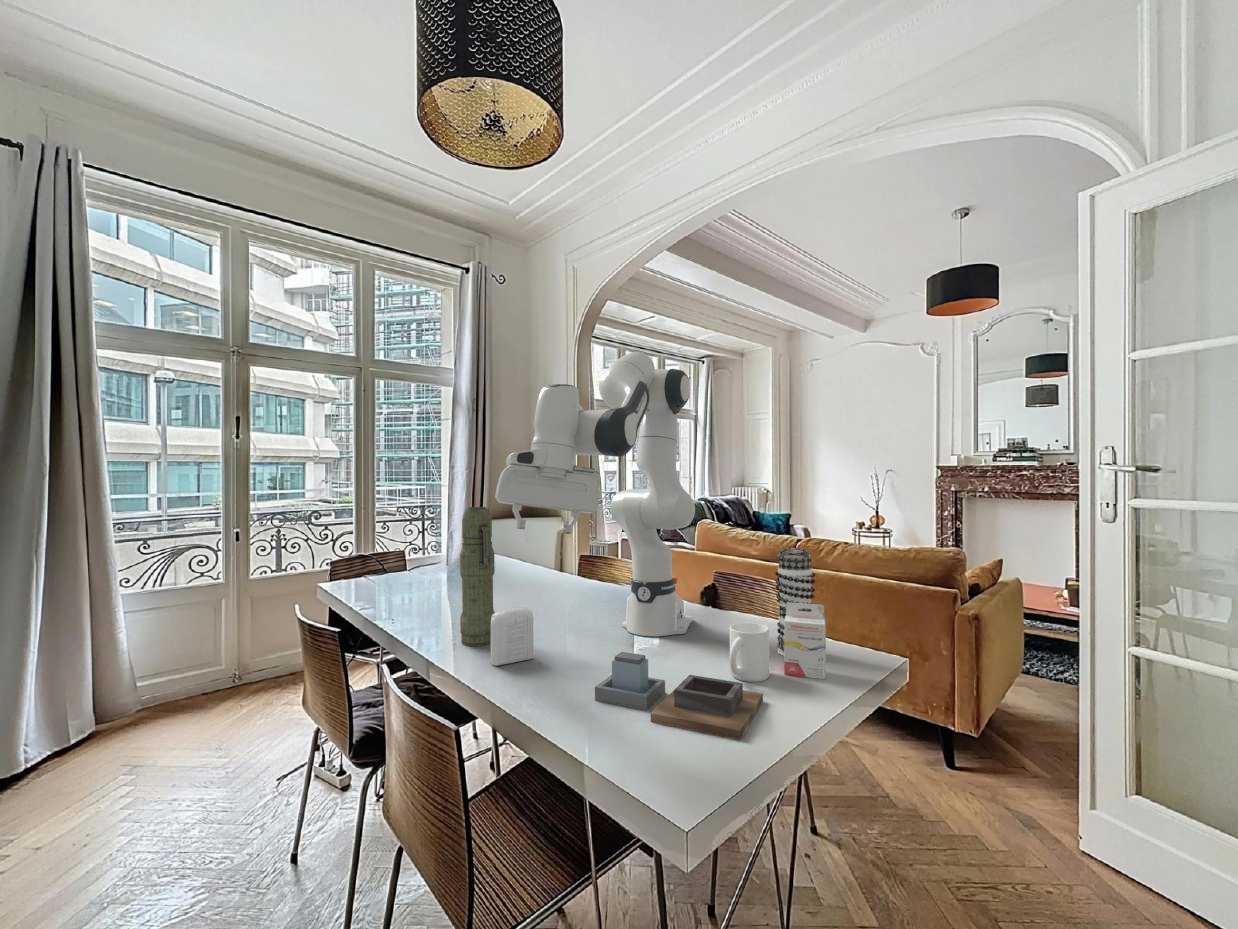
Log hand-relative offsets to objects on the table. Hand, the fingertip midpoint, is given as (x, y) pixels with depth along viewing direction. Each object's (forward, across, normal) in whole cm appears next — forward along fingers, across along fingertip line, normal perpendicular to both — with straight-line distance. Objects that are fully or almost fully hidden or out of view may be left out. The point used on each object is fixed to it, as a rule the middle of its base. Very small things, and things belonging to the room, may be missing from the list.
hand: (544, 531), depth 111 cm
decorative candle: (+22, -66, -9) cm, 70 cm away
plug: (+30, -21, +1) cm, 37 cm away
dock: (+30, -32, +12) cm, 45 cm away
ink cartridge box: (+25, -60, +3) cm, 65 cm away
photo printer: (+30, -2, -29) cm, 41 cm away
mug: (+27, -46, 0) cm, 54 cm away
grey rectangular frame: (+30, -21, +1) cm, 37 cm away
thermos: (+28, +4, -48) cm, 56 cm away
